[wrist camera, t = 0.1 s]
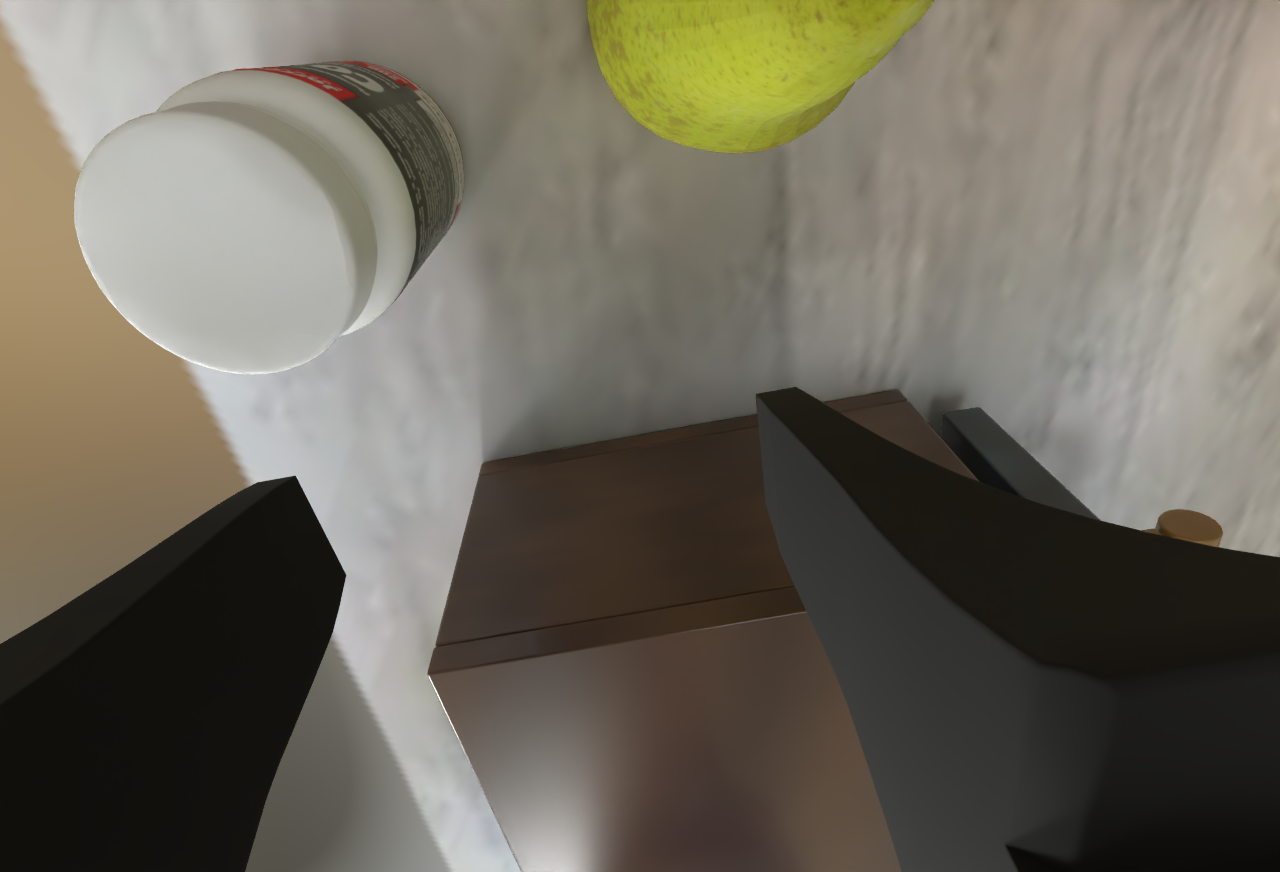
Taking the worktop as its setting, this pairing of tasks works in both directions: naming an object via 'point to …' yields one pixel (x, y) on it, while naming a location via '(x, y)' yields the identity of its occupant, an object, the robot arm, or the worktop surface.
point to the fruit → (740, 63)
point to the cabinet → (656, 661)
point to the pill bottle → (268, 210)
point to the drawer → (1044, 475)
